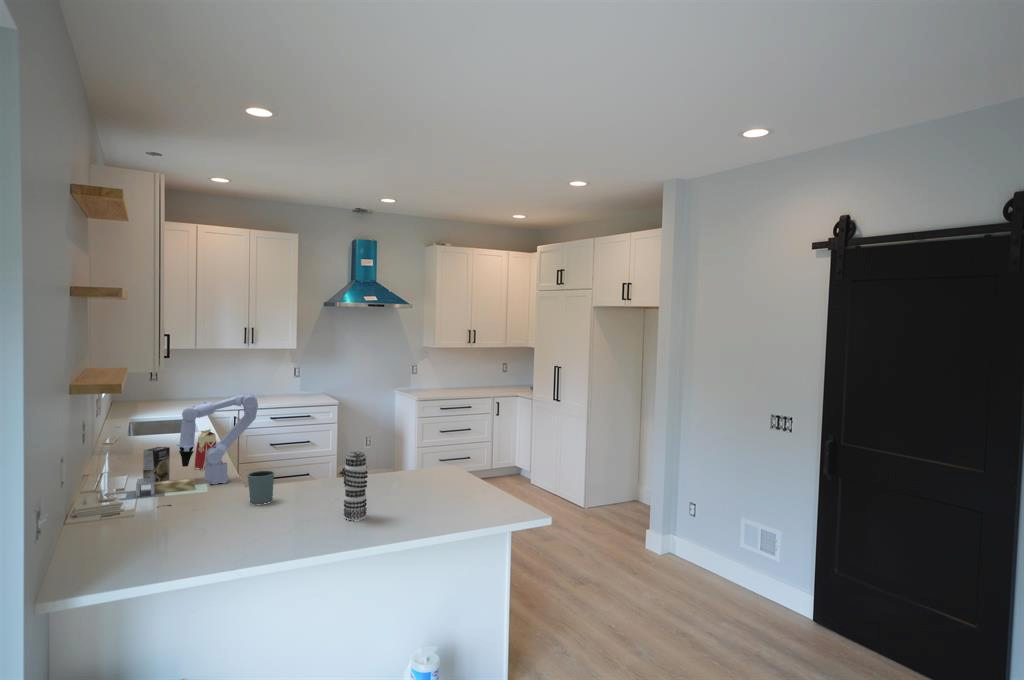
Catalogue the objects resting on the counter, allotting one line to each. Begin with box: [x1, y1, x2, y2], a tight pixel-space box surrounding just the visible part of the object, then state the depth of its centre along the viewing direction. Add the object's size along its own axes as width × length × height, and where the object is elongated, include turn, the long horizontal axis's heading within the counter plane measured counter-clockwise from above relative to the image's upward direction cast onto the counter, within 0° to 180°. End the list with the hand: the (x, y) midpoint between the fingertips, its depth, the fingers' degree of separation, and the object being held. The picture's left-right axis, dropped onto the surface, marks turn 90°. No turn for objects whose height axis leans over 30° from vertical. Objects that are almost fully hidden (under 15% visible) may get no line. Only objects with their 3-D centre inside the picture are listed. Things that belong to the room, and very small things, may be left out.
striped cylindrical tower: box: [343, 451, 369, 522], centre depth 234 cm, size 9×9×25 cm
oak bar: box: [154, 478, 196, 494], centre depth 261 cm, size 15×4×4 cm, turn 118°
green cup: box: [247, 470, 275, 505], centre depth 251 cm, size 10×10×12 cm
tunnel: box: [135, 477, 155, 497], centre depth 256 cm, size 6×9×6 cm
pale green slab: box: [103, 483, 209, 501], centre depth 258 cm, size 38×14×2 cm, turn 118°
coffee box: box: [142, 446, 171, 482], centre depth 276 cm, size 9×6×16 cm
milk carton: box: [193, 428, 218, 470], centre depth 307 cm, size 9×9×20 cm
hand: (185, 464), depth 275 cm, fingers open, 7 cm apart
